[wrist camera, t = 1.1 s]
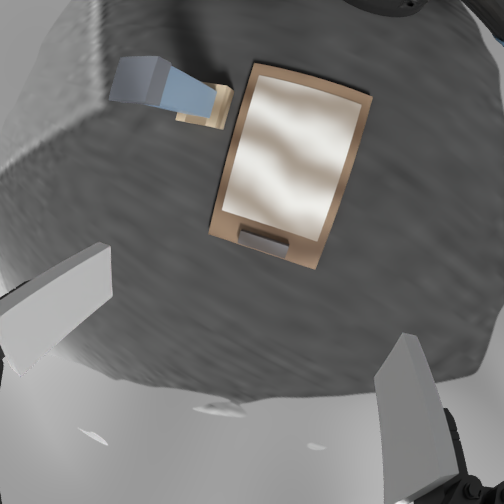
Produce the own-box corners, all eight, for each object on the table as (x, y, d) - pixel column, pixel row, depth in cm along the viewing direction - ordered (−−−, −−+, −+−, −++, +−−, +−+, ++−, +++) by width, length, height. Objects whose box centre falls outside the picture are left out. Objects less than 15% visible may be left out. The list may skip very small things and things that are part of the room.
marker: (195, 89, 28) (120, 57, 14) (223, 93, 27) (158, 56, 14) (188, 116, 29) (108, 100, 16) (215, 121, 29) (144, 102, 15)
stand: (196, 85, 29) (186, 80, 26) (234, 91, 28) (226, 85, 26) (186, 122, 31) (175, 120, 28) (223, 129, 30) (215, 127, 27)
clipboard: (255, 64, 27) (252, 60, 25) (371, 97, 25) (374, 95, 24) (210, 232, 35) (206, 235, 34) (314, 267, 34) (315, 272, 32)
